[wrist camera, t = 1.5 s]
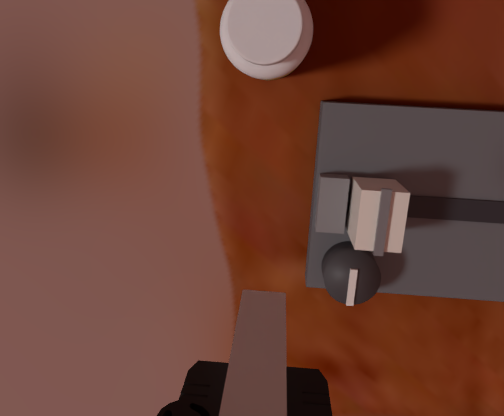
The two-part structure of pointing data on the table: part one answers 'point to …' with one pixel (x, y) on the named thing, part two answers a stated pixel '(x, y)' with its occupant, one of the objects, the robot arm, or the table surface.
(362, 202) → the fader knob
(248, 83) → the table surface
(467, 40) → the table surface
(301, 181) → the table surface
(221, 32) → the supplement bottle
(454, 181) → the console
